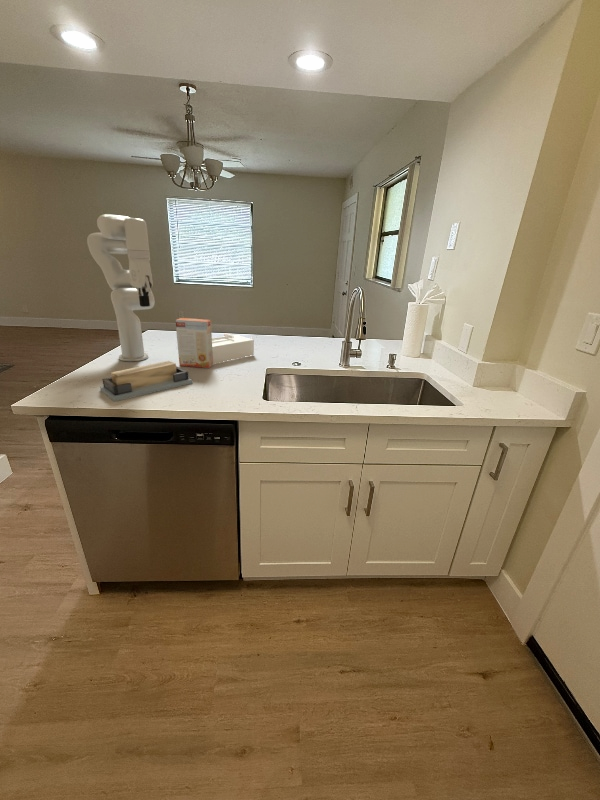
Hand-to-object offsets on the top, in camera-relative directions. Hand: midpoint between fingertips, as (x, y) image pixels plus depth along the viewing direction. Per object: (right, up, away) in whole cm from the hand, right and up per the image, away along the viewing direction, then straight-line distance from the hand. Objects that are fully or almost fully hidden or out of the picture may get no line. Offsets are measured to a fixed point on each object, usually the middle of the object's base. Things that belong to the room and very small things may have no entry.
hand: (145, 306), depth 133 cm
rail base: (+4, -32, -6) cm, 33 cm away
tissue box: (+23, -16, +38) cm, 47 cm away
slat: (+4, -31, -6) cm, 32 cm away
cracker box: (+14, -21, +22) cm, 33 cm away
